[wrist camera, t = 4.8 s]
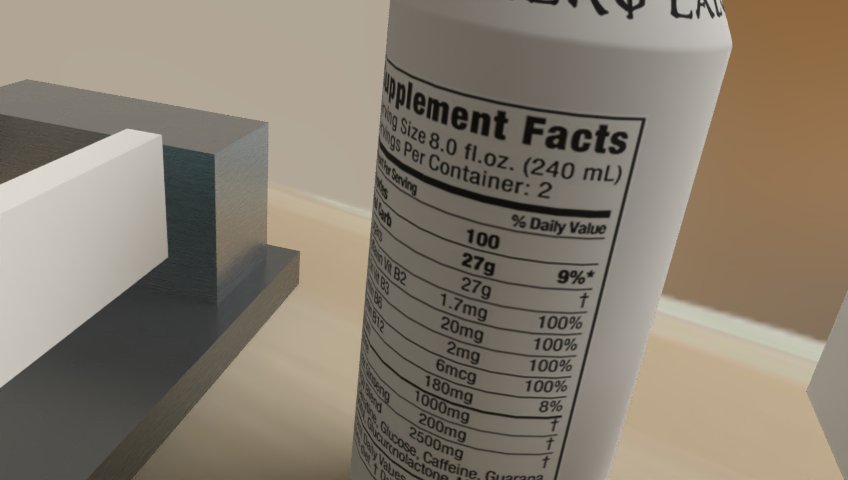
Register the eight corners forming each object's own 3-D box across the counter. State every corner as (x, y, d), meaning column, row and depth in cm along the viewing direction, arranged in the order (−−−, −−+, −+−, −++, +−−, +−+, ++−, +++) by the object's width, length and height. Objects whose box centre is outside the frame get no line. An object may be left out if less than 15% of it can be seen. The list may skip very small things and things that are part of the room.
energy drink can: (622, 559, 19) (819, -58, 12) (469, 714, 15) (644, -81, 8) (455, 435, 22) (540, -91, 16) (296, 532, 18) (325, -118, 12)
